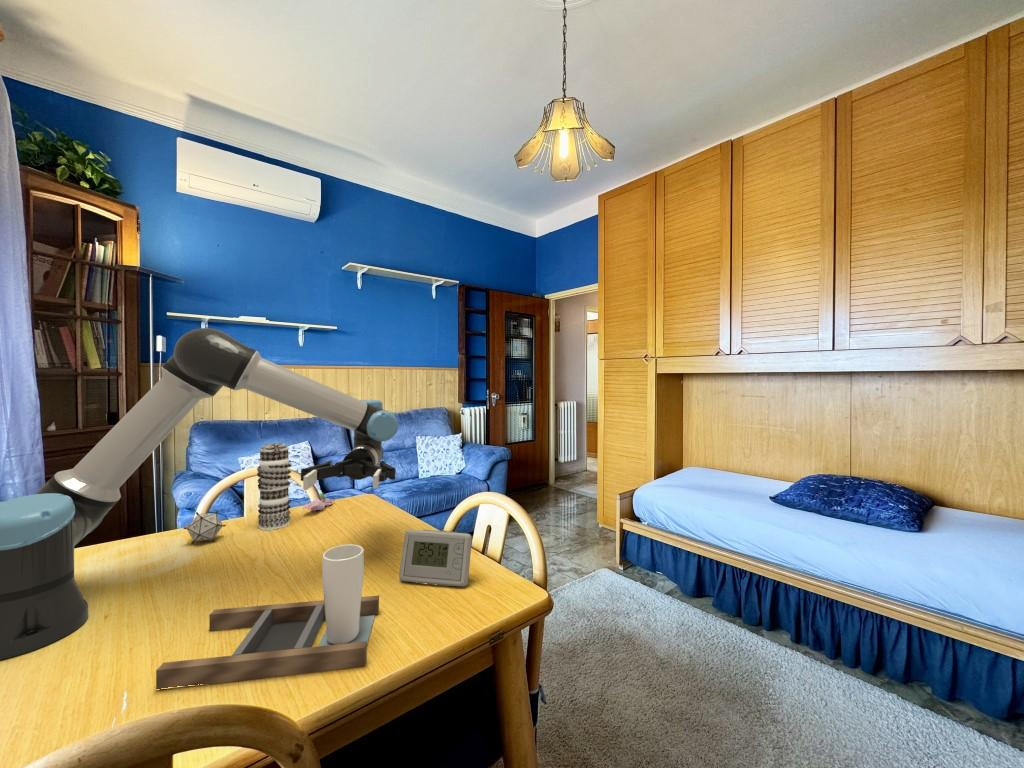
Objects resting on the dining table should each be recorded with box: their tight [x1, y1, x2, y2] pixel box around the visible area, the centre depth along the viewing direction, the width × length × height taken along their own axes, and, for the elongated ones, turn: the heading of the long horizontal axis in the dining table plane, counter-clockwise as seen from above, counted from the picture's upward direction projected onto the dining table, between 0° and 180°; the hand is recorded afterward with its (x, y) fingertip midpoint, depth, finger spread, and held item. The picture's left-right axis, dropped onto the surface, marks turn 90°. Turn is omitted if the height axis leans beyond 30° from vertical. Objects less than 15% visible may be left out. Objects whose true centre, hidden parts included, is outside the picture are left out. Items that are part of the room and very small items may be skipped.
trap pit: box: [231, 605, 324, 656], centre depth 69 cm, size 10×12×3 cm
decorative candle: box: [256, 442, 292, 531], centre depth 124 cm, size 9×9×25 cm
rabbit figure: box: [302, 492, 335, 512], centre depth 139 cm, size 6×6×15 cm
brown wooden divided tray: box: [155, 595, 380, 690], centre depth 69 cm, size 29×16×3 cm, turn 100°
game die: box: [182, 510, 227, 545], centre depth 112 cm, size 9×8×10 cm
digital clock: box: [398, 529, 473, 587], centre depth 92 cm, size 16×9×11 cm, turn 70°
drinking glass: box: [321, 543, 365, 645], centre depth 71 cm, size 7×7×15 cm
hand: (340, 482), depth 84 cm, fingers open, 13 cm apart
